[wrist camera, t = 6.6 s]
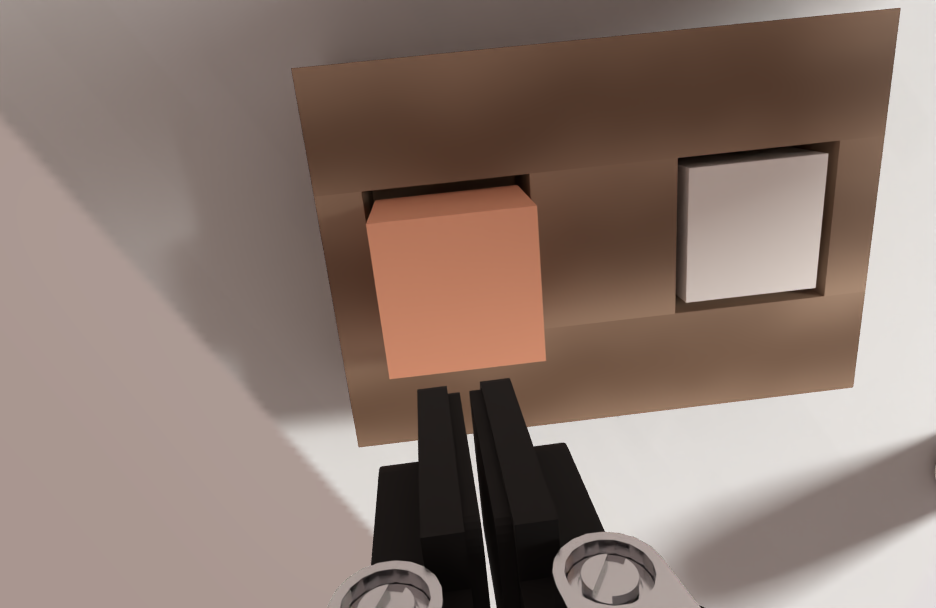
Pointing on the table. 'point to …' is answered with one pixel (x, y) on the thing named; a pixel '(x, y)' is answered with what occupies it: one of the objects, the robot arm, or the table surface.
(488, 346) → the terracotta plug
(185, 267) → the table surface
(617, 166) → the walnut block
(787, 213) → the white plug
